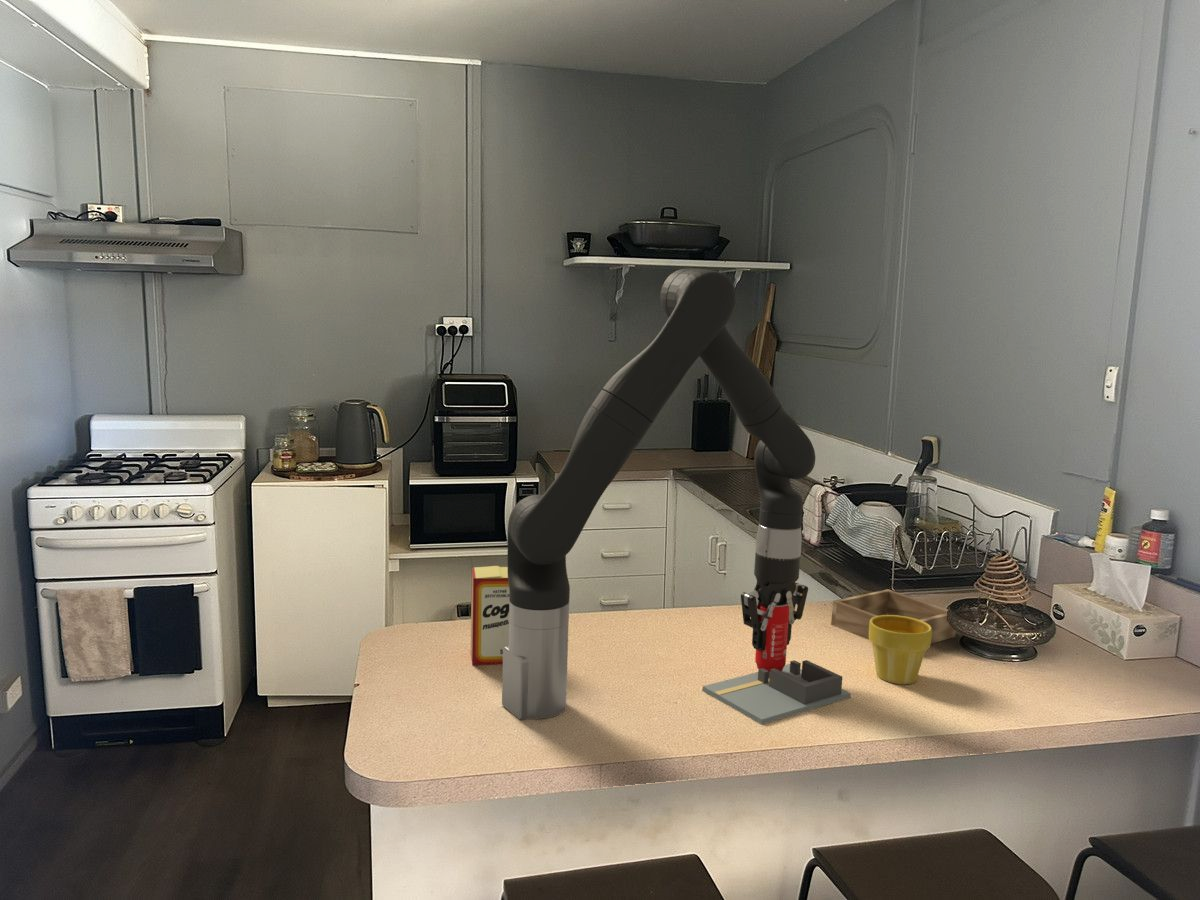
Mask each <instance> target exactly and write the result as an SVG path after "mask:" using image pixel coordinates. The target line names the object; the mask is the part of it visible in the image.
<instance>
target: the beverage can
mask: <svg viewBox="0 0 1200 900" xmlns="http://www.w3.org/2000/svg"><path fill="white" fill-rule="evenodd" d="M774 607H775V608H774V610H773V614H772V618H770V619H769V620H768V624H767V627H766V629H765V630H766V642H765V650H764V651H758V650H756V649H755V656H754V657H755V658H754V662H755V665H756V667H757V669H762V668H763V669H765V670H767V671H769V673H770V669H774V668H775V669H777V670H779V671H782V670H783V668H784V666H785V665H787V664H786V663H787V662H786V661H787V649H788V645H787V636H788V622H789V606H788V603H787V604H786V603H784V604H782V605H776V606H774ZM759 609H760V610H762V611H764V612H766V611H767V609H768V608H765V607H763V606H761V605H760V606H759ZM761 620H762V615H760V617H759V622H761Z"/></svg>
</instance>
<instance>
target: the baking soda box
mask: <svg viewBox="0 0 1200 900" xmlns="http://www.w3.org/2000/svg"><path fill="white" fill-rule="evenodd" d="M509 595H510V593H509V582H508V566H499V565H490V566H477V567H476V566H475V567H471V603H470V604H471V606H470V607H471V608H470V612H471V613H470V656H471V657H470V658H471V665H472V666H486V665H487V666H489V665H490V666H491V665H492V666H493V665H503V648H504V647H507V646H508V642H509Z"/></svg>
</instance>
